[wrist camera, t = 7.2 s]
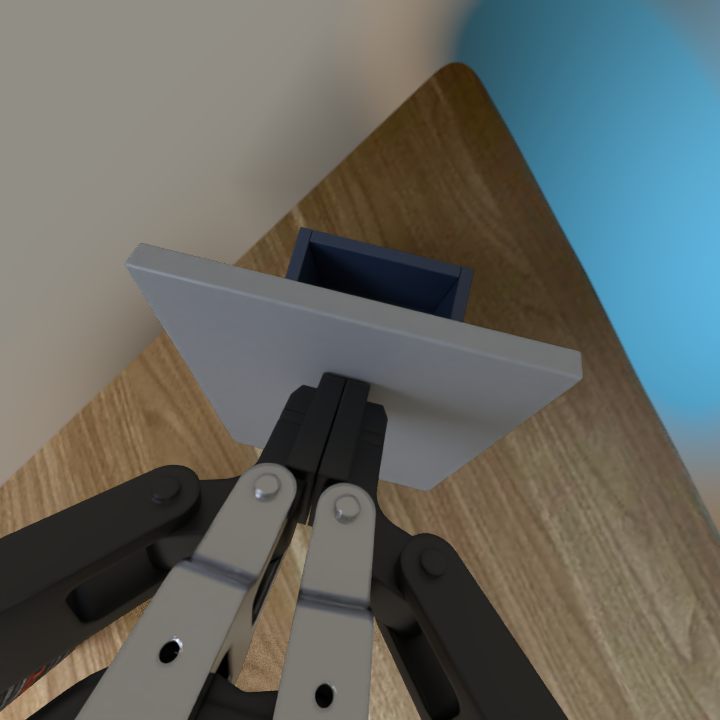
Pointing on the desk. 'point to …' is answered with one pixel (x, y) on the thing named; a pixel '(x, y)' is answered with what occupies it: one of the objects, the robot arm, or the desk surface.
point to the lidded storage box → (380, 274)
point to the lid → (349, 360)
